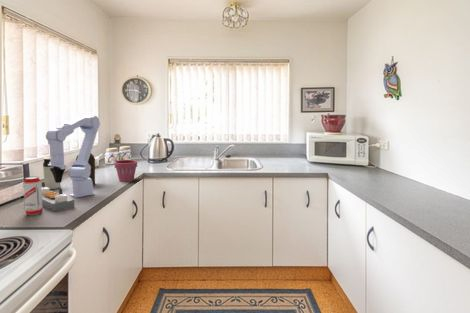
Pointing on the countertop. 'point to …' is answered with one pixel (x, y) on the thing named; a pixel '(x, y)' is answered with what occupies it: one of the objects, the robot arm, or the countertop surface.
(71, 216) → the countertop surface
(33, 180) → the beer can
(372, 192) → the countertop surface
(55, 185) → the travel mug
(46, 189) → the left plug
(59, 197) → the right plug
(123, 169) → the plant pot
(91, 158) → the olive oil
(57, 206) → the power strip
